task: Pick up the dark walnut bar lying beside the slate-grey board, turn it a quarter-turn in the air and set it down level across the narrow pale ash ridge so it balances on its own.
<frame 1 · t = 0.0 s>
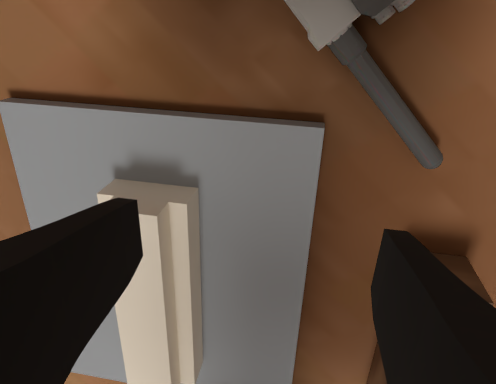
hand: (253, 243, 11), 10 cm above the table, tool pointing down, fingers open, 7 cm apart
ridge stand: (169, 271, 25), on the table
walnut bar: (409, 327, 24), on the table
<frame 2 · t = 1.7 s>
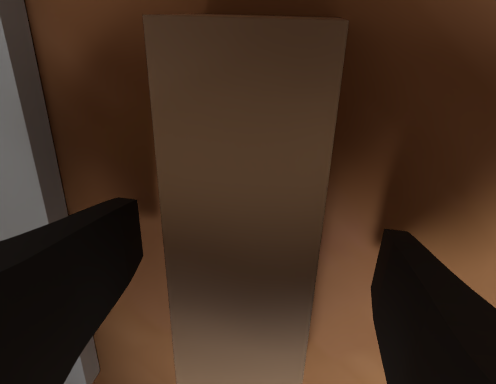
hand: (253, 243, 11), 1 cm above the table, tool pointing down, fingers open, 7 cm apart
walnut bar: (261, 215, 12), on the table
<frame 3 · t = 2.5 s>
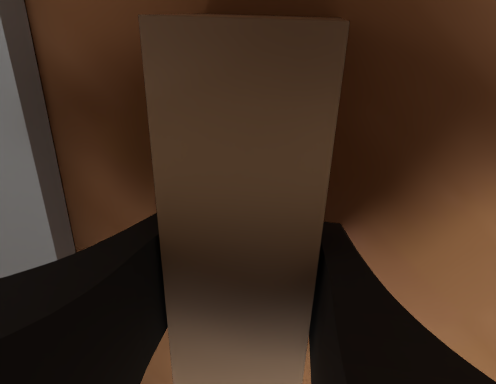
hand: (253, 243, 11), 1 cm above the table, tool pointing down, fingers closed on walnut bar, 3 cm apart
walnut bar: (260, 217, 12), on the table, touching gripper
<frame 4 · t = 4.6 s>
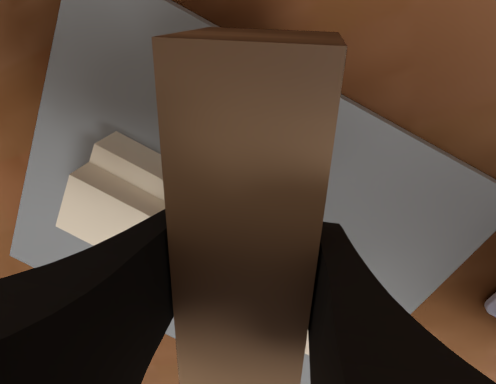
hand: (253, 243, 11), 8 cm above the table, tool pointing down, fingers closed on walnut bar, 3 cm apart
ridge stand: (225, 223, 21), on the table
walnut bar: (262, 220, 13), point 6 cm above the table, touching gripper
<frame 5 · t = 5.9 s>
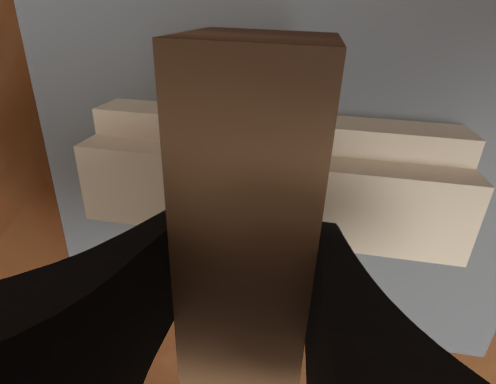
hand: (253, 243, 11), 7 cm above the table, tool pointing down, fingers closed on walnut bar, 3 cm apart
ridge stand: (277, 159, 17), on the table
walnut bar: (261, 219, 13), point 5 cm above the table, touching gripper
when the fingers open (7 cm above the table, at t = 6.1 s): walnut bar stays where it is, resting on ridge stand.
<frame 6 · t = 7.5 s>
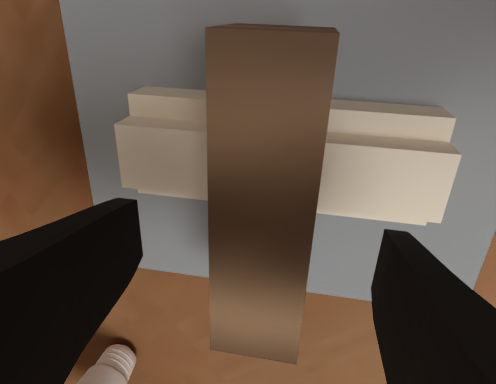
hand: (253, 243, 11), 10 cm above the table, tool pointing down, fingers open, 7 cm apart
lightbulb: (126, 346, 29), on the table
ridge stand: (283, 140, 20), on the table
walnut bar: (273, 180, 16), point 4 cm above the table, touching ridge stand
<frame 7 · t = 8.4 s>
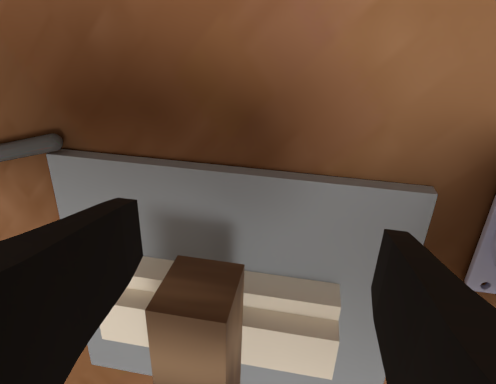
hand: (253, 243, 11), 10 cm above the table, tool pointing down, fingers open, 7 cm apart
ridge stand: (229, 288, 25), on the table
walnut bar: (211, 344, 22), point 4 cm above the table, touching ridge stand
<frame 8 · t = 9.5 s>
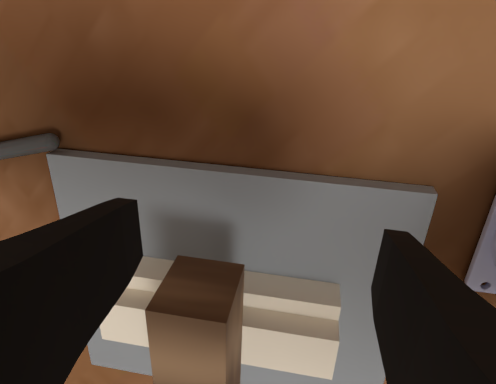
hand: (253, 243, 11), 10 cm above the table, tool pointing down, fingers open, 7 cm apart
ridge stand: (229, 288, 25), on the table
walnut bar: (211, 344, 22), point 4 cm above the table, touching ridge stand
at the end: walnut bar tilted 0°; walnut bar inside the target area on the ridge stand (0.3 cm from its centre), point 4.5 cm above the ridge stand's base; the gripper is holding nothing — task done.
